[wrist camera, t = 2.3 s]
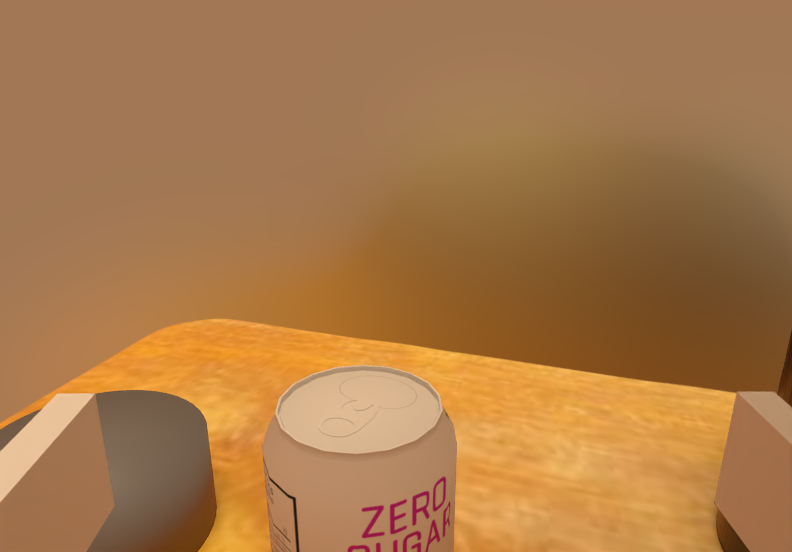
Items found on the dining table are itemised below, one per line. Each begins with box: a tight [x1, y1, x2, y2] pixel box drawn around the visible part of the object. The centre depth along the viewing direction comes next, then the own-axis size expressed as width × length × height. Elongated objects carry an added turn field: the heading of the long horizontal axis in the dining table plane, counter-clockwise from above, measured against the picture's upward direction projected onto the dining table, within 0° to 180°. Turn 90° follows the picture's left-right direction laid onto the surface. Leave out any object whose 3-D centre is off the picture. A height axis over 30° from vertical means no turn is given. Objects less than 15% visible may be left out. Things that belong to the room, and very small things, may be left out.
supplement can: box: [262, 365, 457, 552], centre depth 29 cm, size 8×8×15 cm
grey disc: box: [0, 390, 217, 552], centre depth 40 cm, size 14×14×6 cm
